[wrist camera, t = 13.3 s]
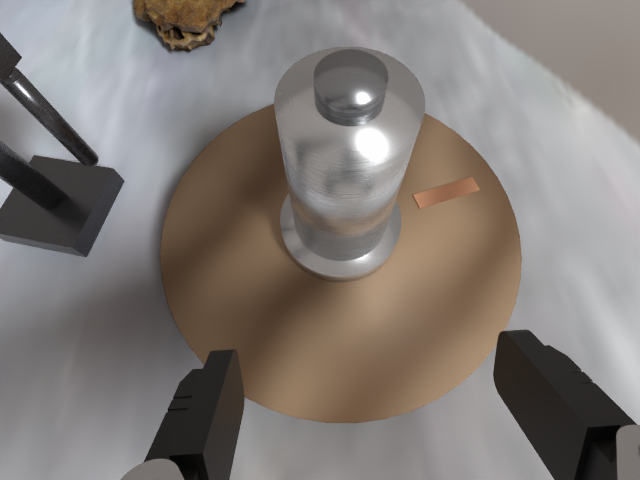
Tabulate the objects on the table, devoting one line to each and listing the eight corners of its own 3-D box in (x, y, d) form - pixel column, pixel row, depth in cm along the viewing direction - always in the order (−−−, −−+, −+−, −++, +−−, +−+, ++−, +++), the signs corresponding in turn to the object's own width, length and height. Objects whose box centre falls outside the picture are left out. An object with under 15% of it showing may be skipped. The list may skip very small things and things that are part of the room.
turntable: (98, 311, 22) (82, 304, 20) (275, 74, 29) (272, 57, 28) (442, 507, 17) (453, 516, 16) (545, 171, 25) (558, 157, 24)
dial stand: (4, 240, 25) (-362, 53, 12) (48, 167, 27) (-215, -57, 14) (143, 268, 24) (-86, 97, 11) (176, 189, 26) (23, -30, 13)
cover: (261, 251, 21) (203, 113, 11) (314, 163, 24) (305, -14, 14) (369, 302, 20) (413, 198, 10) (414, 204, 22) (485, 40, 12)
